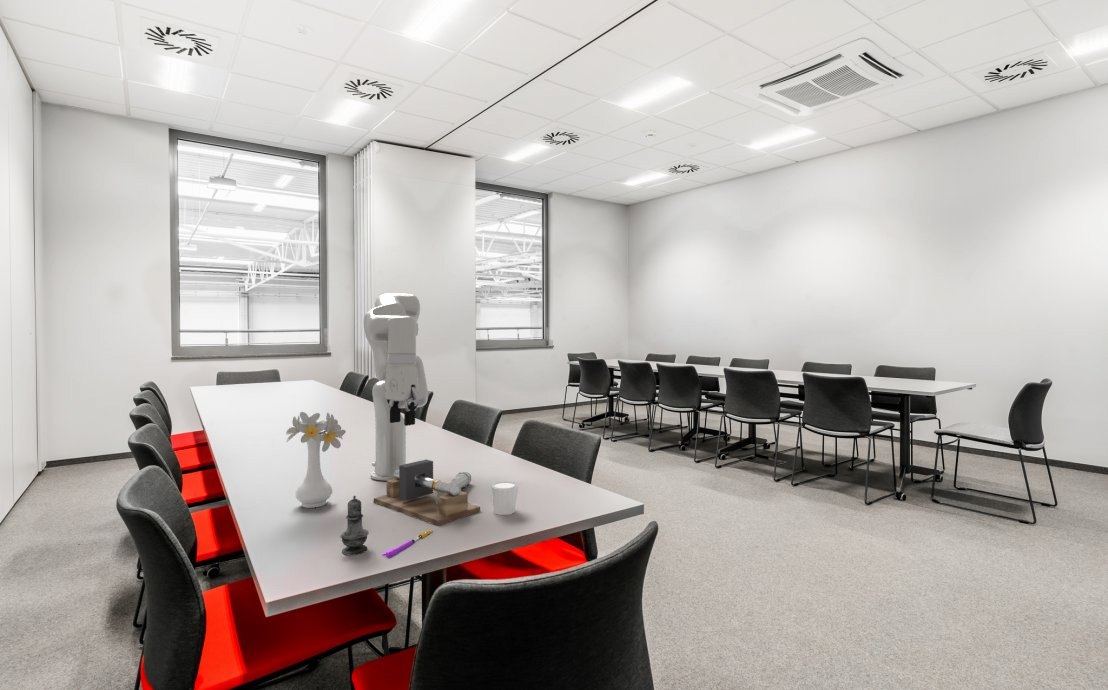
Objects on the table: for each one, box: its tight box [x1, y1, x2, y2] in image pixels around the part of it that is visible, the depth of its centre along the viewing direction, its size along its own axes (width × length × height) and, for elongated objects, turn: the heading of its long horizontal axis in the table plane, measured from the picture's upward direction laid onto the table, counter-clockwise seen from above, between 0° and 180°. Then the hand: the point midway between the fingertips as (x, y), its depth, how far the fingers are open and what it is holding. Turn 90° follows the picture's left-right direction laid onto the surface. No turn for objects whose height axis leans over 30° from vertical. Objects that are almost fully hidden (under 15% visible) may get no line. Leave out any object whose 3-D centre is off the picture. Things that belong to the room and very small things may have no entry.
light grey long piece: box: [434, 471, 472, 505], centre depth 157 cm, size 5×7×25 cm
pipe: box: [394, 470, 462, 496], centre depth 147 cm, size 26×3×3 cm, turn 51°
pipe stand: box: [373, 478, 481, 526], centre depth 147 cm, size 28×14×5 cm, turn 51°
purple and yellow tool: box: [381, 530, 434, 558], centre depth 122 cm, size 3×1×16 cm
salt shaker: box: [339, 495, 370, 556], centre depth 118 cm, size 6×6×12 cm
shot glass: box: [490, 481, 518, 516], centre depth 144 cm, size 7×7×7 cm
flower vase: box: [285, 411, 346, 509], centre depth 148 cm, size 13×18×25 cm
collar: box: [399, 459, 434, 501], centre depth 150 cm, size 3×9×9 cm, turn 141°
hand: (402, 423), depth 154 cm, fingers open, 6 cm apart
